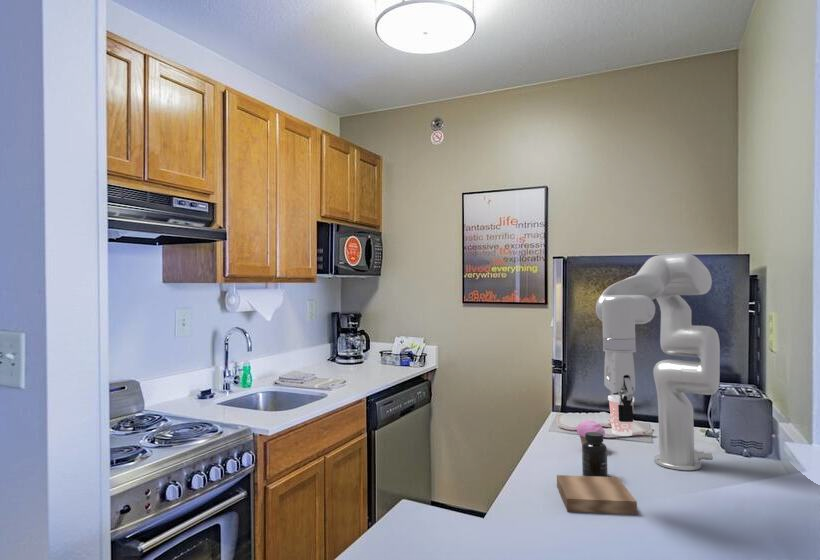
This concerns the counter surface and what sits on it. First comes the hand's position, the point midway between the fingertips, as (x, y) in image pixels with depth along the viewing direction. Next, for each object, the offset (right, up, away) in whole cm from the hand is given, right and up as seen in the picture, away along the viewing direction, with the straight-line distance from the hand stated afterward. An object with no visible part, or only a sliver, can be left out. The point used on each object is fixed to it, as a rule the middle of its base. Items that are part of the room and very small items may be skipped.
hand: (621, 417), depth 123 cm
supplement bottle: (+1, -22, +19) cm, 30 cm away
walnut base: (-6, -22, +3) cm, 23 cm away
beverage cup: (0, -4, 0) cm, 4 cm away
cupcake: (+8, -23, +42) cm, 49 cm away
